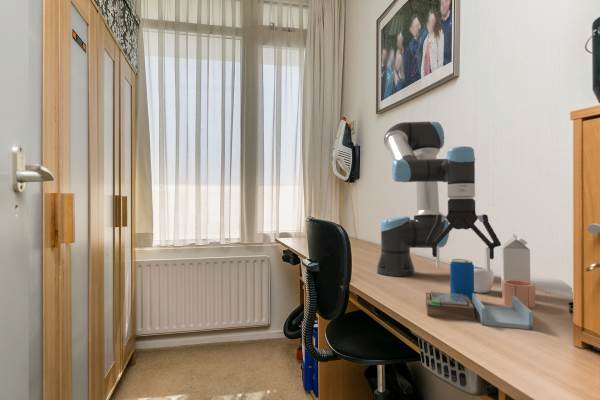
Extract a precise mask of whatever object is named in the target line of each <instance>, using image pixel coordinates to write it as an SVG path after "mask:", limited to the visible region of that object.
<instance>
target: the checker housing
mask: <svg viewBox="0 0 600 400" xmlns="http://www.w3.org/2000/svg"><path fill="white" fill-rule="evenodd" d="M464 297H465V299H466V301H467V306H462V305H449V304H440V301H439V300H432V299H431V292H425V307H426V315H427V317H437V318H447V319H456V318H457V319H460V320H469V321H474V320H475V312H474V307H473V305H472V301H471V302H470V300H469V298H468V297H467V296H466V295H464ZM457 319H456V320H457Z"/></svg>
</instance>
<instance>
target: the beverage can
mask: <svg viewBox="0 0 600 400" xmlns="http://www.w3.org/2000/svg"><path fill="white" fill-rule="evenodd" d="M474 266H475V265H474V264H473V260H470V259H465V258H452V259H451V262H450V263H449V278H450V281H449V283H450V284H449V285H450V286H449V288H450V289H449V290H450V292H449V293H455V294H463V295H466V296H467V297H468V298H469V300H470V302H471V303H472V293H475V292H474Z"/></svg>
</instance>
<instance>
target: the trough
mask: <svg viewBox="0 0 600 400" xmlns="http://www.w3.org/2000/svg"><path fill="white" fill-rule="evenodd" d="M471 304H472V305H473V307H474V314H475V316H476V317H477V318H478V321H479V322H480V324H481V326H491V327H502V328H510V329H511V328H512V329H520V330H521V329H522V330H532V331H533V330H534V313H533V311H532V310H531V309H530V308H527V307H526V306H525V305H524V304H523V303H522V302H521V301H520V300H519V299H518V298H517V297H516V296H512V306H501V305H489V304H483V303H482V301H481V300H480V299H479V297H478V295H477V294H476V292H474V293H472V301H471Z"/></svg>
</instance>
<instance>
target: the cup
mask: <svg viewBox="0 0 600 400" xmlns="http://www.w3.org/2000/svg"><path fill="white" fill-rule="evenodd" d="M501 295H502V296H501V300H502V303H504V304H505V305H507V306H510V307H512V296H516V297H517V298H518V299H519V300H520V301H521V302H522V303H523V304H524V305H525V306H526V307H527V308H529V309H530V308H534V307H535V308H536V284H534V283H533V282H531V281H530V282H526V281H520V280H504V281H502V290H501Z"/></svg>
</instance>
